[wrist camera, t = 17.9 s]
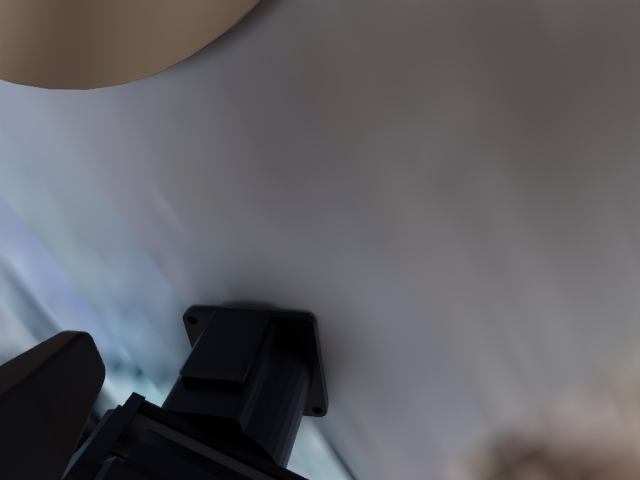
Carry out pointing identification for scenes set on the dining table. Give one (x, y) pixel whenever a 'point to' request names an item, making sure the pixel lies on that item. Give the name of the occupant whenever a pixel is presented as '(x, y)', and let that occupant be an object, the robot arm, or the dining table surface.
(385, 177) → the dining table surface
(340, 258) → the dining table surface
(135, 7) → the turntable
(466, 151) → the dining table surface
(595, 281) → the dining table surface
